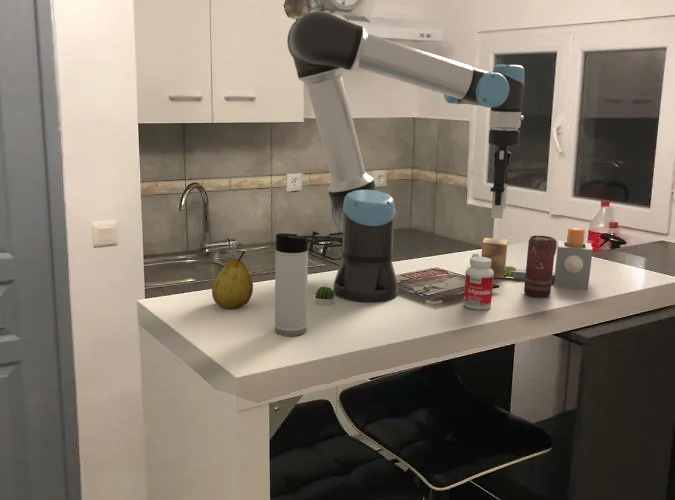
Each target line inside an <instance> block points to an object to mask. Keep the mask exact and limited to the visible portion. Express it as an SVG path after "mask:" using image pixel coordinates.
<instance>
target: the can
mask: <svg viewBox="0 0 675 500" xmlns="http://www.w3.org/2000/svg"><path fill="white" fill-rule="evenodd" d="M557 245H558V240H557V239H556V238H554V237H551V236H546V235H531V236H530V238H529V240H528V245H527V254H526V255H527V256H526V266H525V270H526V275H525V280H524V285H523V286H524V288H523V293H524V294H525V296H527V297H530V298H535V299H545V298H546V297H547V298H548V297H550V295H551V290H552V284H553V283H552V274H553V273H554V272H553V271H554V265H555V264H554V263H555V255H556V254H557Z"/></svg>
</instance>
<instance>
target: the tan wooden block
mask: <svg viewBox="0 0 675 500" xmlns="http://www.w3.org/2000/svg"><path fill="white" fill-rule="evenodd" d="M508 240H509V239H505V238H503V239H502V238H492V237H484V238H483V240H482V243H481V244H482V246H481V256H480V257H487V258H490V259H491V267H490V268H491V269H492V270H493V272H494V279H495V278H496V279H505V278H504V271H505V268H506V265H507V254H508V253H507V252H508Z"/></svg>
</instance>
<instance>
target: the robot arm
mask: <svg viewBox="0 0 675 500" xmlns="http://www.w3.org/2000/svg"><path fill="white" fill-rule="evenodd" d="M287 34H288V35H287V41H286V42H287V48H288V51H289V52H288V53H290V56H291V57H292V59H293V62H294V63H293V64H294V66H295V70H296V74H297V78H298V80H299V81H300V82H303V83H304V84H305V85H306V87H307V91H308V94H309V97H310V101H311V102H310V103H311V106H312V107H311V108H312V110H313V113H314V118H315V121H316V125H317V129H318V133H319V136H320V142H321V144H322V149H323V152H324V157H325V161H326V164H327V168H328V171H329V175H330V180H331V183H330V184H329V186H328V188H327V193H328V196H329V200H330V203H331V216H332V220H333V221H334V224H335V225H336V226H337V227H338V229H340V230H341V232H342V251H341V252H342V254H341V262H340V264H339V267H338V270H337V273H336V276H335V279H334V281H333V293H334V295H336V296H337V297H339V298H342V299H346V300H350V301H354V302H365V303H368V302H370V303H372V302H373V303H374V302H375V303H376V302H384V301H385V302H386V301H389V300H392V299H395V298H396V297H397V296H398V295H399V283H398V279H397V275H396V272H395V269H394V266H393V265H394V264H393V248H394V247H393V245H394V228H395V227H394V226H395V215H396V208H395V200H394V198H393V197H392V196H391V195H390V194H388V193H386V192H381V191H380V190H377V187H376V183H375V179H374V176H372V175H370V174H368V173H367V172H366V168H365V164H364V160H363V156H362V152H361V147H360V144H359V139H358V135H357V132H356V127H355V123H354V119H353V116H352V115H353V114H352V112H351V107H350V102H349V100H348V99H349V98H348V94H347V91H346V86H345V82H344V78H343V74H344V72H345V70H348V71H352V70H354V69H356V68H358V69H361V70H364V71H367V72H370V73H374V74H377V75H380V76H383V77H387V78H390V79H393V80H395V81H399V82H403V83H405V84H406V83H407V84H410V85H412V86H416V87H419V88H423V89H426V90H430V91H432V92H436V93H438V94H439V93H440V94H442V95H443V98H444V100H445V102H446V103H448V104H453V105H454V104H455V105H471V106H480V107H485V108H488V109H489V108H490V112H489V127H490V128H491V129H489V131H488V144H489V145H492V146H498V148H497V150H496V151H494V154H493V155H494V156H493V157H494V158H493V160H494V164H493V165H494V179H493V186H492V187H490V192H492V200H491V216H490V218H492V219H503V218H504V217H503V216H504V210H506V206H507V194H508V193H507V192H508V184H510V183H511V179H509V167H510V166H511V165H510V164H511V158H512V152H511V151H510V149H511V147H514V146H515V147H516V146H519V144H520V138H521V131H520V130H519V128H521V123H522V121H523V120H524V119H525V117H524V115H522V111H523V99H524V98H523V97H524V90H525V68H524V66H522V65H519V64H495V65H494V66H493V69H492V71H487V70H483V69H480V68H477V67H473V66H471V65H468V64H466V63H465V64H464V63H462V62H459V61H456V60H452V59H450V58H449V59H448V58H446V57H443V56H440V55H437V54H433V53H431V52H427V51H424V50H421V49H417V48H415V47H412V46H409V45H406V44H401V43H398V42H395V41H393V40H390V39H386V38H384V37H380V36H377V35H373V34H371V33H367V31H366V29H365V27H364V26H362V25H359V24H355V23H354V22H350V21H348V20H346V19H343V18H340V17H338V16H337V15H335V14H332V13H329V12H327V11H321V10H314V11H311V12H308V13H305V14H304V15H302V16H300V17H299V18H297V19H296V20H295V21H294V22H293V23H292V25H291V27H290V29H289V30H288V33H287Z"/></svg>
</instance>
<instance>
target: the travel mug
mask: <svg viewBox="0 0 675 500" xmlns="http://www.w3.org/2000/svg"><path fill="white" fill-rule="evenodd" d="M275 244H276V245H275V265H274V266H275V270H274V272H275V274H274V275H275V276H274V277H275V279H274V283H275V284H274V291H275V292H274V331H275V333H276V334H278V335H280V336H283V337H284V336H285V337H298V336H302V335H304V334H305V333H306V332H307V322H308V321H307V317H308V315H307V314H308V310H307V308H308V274H309V273H308V271H309V270H308V267H309V261H308V260H309V246H308V245H309V236H307V235H303V236H302V235H298V234H296V233H286V232H285V233H283V232H281V233H279V232H278V233H276V234H275Z"/></svg>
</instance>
